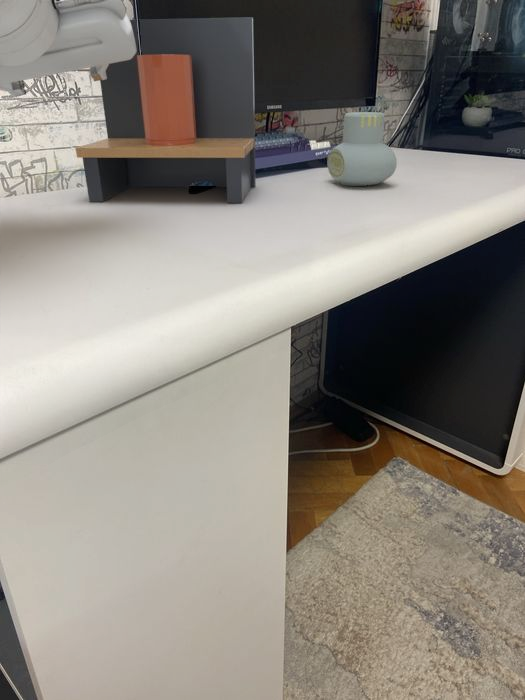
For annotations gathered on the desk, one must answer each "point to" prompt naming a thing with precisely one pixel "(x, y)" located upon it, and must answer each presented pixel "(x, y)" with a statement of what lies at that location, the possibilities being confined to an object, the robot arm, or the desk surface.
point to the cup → (167, 99)
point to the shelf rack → (210, 113)
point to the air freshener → (362, 151)
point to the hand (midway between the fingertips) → (59, 82)
